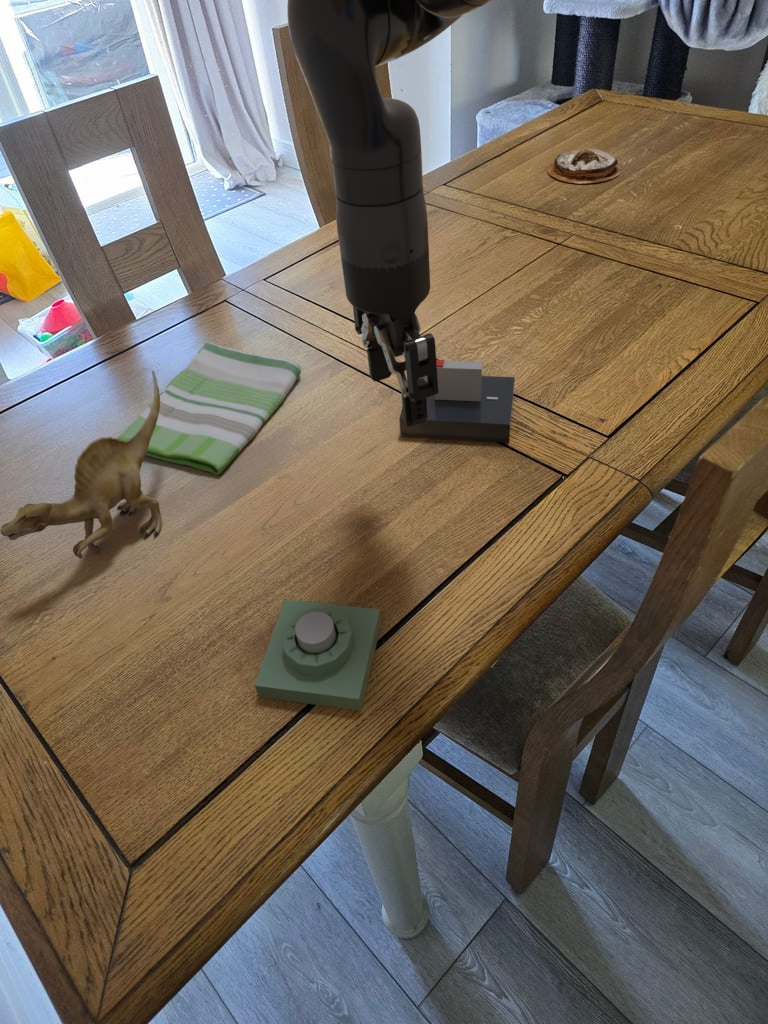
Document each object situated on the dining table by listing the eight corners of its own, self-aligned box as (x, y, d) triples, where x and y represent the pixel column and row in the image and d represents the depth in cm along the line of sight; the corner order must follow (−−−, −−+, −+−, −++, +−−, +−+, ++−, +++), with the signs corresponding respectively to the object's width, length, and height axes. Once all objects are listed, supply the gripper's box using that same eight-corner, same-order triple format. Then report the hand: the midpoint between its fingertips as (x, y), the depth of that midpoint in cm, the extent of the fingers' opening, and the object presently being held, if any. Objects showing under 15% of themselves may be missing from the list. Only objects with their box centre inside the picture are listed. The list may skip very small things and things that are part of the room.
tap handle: (481, 394, 91) (482, 360, 87) (480, 401, 90) (481, 367, 86) (436, 392, 92) (435, 358, 88) (434, 399, 91) (433, 366, 87)
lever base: (513, 395, 95) (514, 376, 93) (509, 442, 88) (510, 423, 86) (412, 390, 97) (411, 372, 95) (400, 436, 91) (399, 417, 88)
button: (339, 624, 67) (337, 613, 65) (331, 656, 64) (328, 645, 63) (303, 620, 67) (300, 609, 66) (293, 651, 65) (290, 641, 64)
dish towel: (306, 375, 102) (302, 355, 100) (225, 478, 88) (218, 457, 85) (208, 358, 108) (201, 338, 105) (116, 452, 93) (107, 431, 91)
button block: (381, 621, 71) (378, 598, 68) (361, 711, 64) (356, 689, 61) (288, 611, 73) (281, 588, 70) (259, 697, 66) (249, 675, 63)
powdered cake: (605, 153, 152) (607, 132, 149) (632, 178, 141) (636, 156, 138) (539, 162, 151) (540, 142, 148) (561, 188, 140) (564, 167, 137)
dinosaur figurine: (38, 591, 77) (-22, 508, 68) (179, 444, 93) (147, 360, 84) (91, 611, 75) (36, 528, 65) (226, 457, 91) (198, 372, 81)
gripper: (463, 265, 55) (463, 426, 66) (390, 204, 64) (402, 354, 76) (375, 291, 53) (392, 451, 65) (314, 224, 62) (338, 374, 74)
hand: (397, 399), depth 70 cm, fingers open, 8 cm apart
